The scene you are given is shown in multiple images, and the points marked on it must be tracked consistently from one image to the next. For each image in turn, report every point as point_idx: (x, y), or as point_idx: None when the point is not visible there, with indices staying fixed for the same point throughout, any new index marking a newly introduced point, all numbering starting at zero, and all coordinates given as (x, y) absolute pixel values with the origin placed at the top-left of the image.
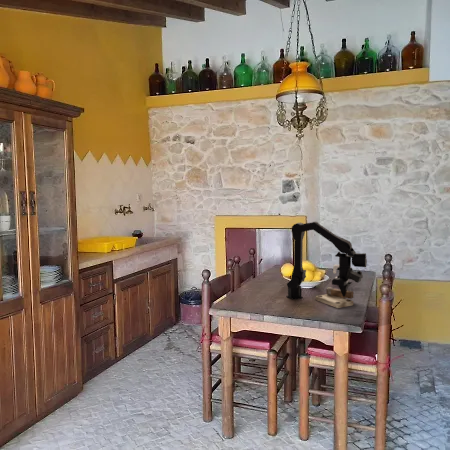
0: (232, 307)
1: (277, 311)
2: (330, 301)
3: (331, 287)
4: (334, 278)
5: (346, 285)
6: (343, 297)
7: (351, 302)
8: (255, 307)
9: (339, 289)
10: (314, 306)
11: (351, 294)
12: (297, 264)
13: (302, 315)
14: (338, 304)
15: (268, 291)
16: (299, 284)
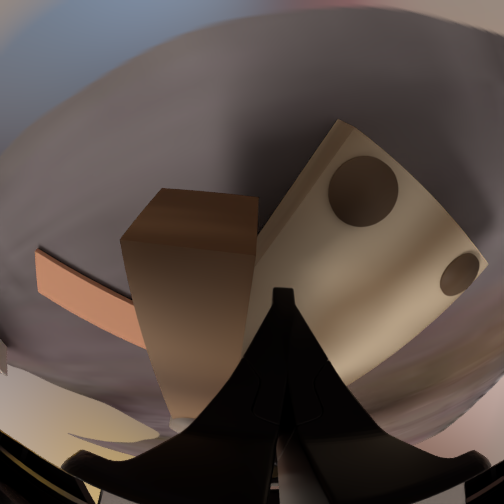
0: (431, 432)
1: (477, 384)
2: (419, 331)
3: (171, 428)
4: (2, 373)
5: (470, 452)
6: (117, 294)
7: (379, 147)
8: (435, 421)
9: (171, 394)
10: (432, 353)
11: (225, 226)
12: None
13: None
14: (480, 255)
15: None
16: (277, 482)
